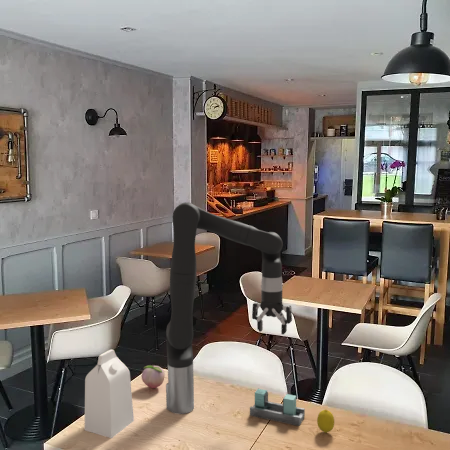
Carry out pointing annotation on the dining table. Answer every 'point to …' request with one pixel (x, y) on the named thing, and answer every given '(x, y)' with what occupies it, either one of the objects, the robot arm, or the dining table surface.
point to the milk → (108, 396)
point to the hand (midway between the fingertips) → (271, 332)
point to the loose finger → (289, 404)
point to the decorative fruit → (153, 376)
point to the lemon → (325, 421)
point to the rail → (274, 410)
